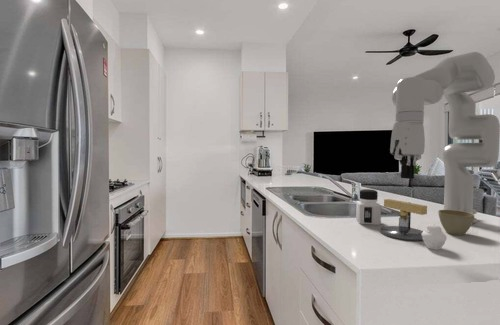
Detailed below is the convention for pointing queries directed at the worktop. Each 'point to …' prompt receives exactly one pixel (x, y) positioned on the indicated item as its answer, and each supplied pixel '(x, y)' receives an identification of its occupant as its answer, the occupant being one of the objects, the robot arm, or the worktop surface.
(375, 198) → the container
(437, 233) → the white rounded lump
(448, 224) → the olive brown bowl
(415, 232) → the post base
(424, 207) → the tan t-shaped block
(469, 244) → the worktop surface
